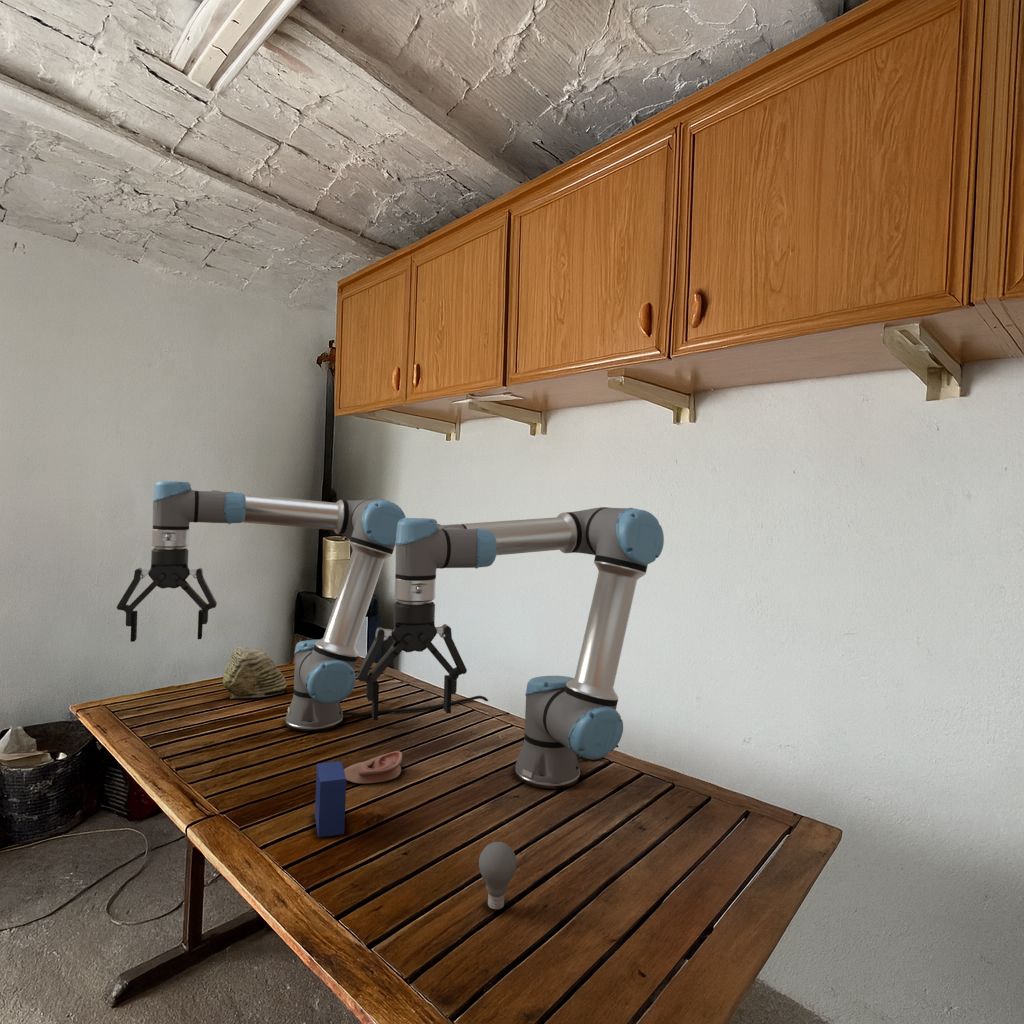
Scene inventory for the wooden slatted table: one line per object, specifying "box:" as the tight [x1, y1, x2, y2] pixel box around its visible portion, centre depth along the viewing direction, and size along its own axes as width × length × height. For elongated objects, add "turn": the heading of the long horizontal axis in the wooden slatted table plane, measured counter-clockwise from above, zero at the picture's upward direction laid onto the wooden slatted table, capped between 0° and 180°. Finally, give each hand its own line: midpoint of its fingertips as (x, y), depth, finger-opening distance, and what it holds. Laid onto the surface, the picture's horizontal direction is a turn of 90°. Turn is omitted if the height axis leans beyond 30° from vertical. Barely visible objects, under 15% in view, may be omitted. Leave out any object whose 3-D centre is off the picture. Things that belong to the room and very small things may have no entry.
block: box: [314, 760, 347, 839], centre depth 122 cm, size 8×5×11 cm, turn 21°
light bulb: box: [478, 841, 518, 910], centre depth 100 cm, size 6×6×10 cm
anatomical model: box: [343, 750, 403, 784], centre depth 146 cm, size 13×4×12 cm
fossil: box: [222, 646, 288, 699], centre depth 198 cm, size 9×18×15 cm, turn 132°
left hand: (167, 639), depth 147 cm, fingers open, 13 cm apart
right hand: (411, 714), depth 118 cm, fingers open, 13 cm apart
